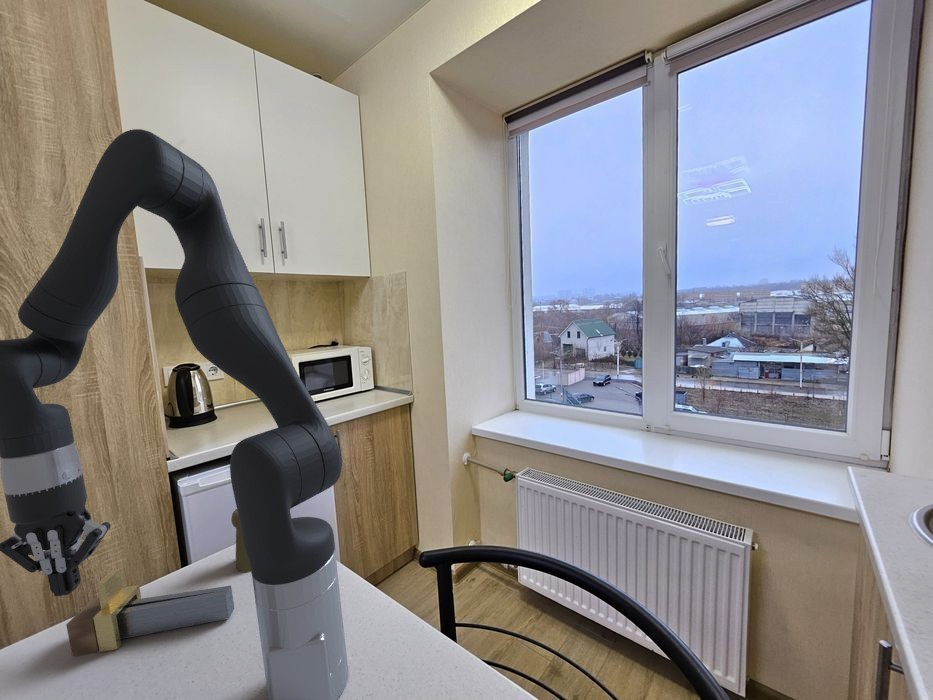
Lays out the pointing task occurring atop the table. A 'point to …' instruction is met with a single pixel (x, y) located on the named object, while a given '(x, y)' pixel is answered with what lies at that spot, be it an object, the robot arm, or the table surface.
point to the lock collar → (112, 609)
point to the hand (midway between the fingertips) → (66, 591)
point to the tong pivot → (84, 630)
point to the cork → (240, 546)
